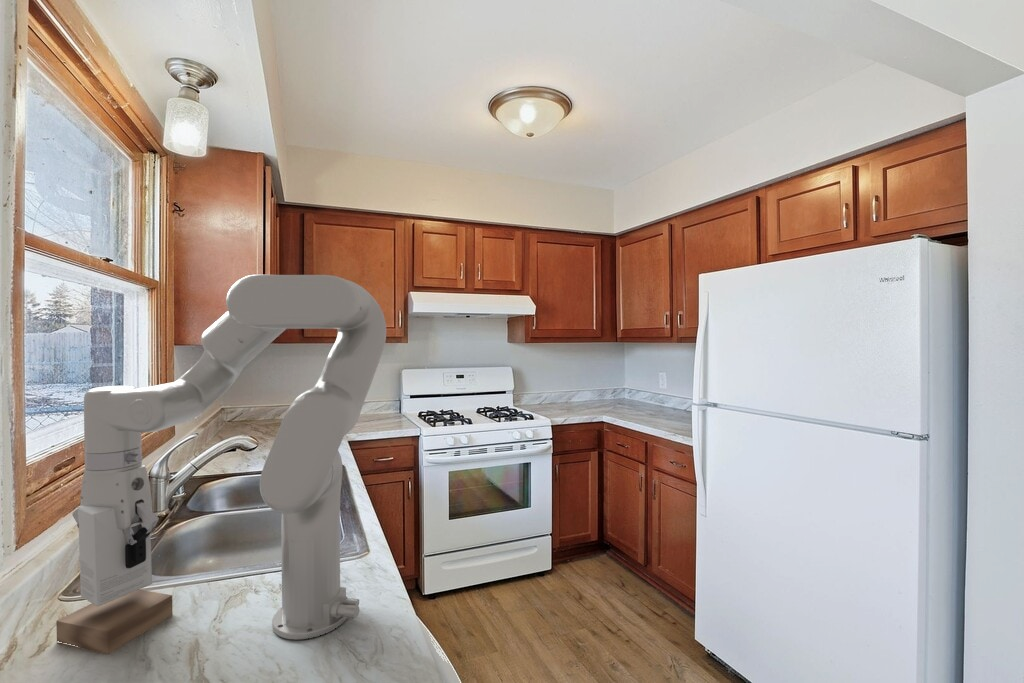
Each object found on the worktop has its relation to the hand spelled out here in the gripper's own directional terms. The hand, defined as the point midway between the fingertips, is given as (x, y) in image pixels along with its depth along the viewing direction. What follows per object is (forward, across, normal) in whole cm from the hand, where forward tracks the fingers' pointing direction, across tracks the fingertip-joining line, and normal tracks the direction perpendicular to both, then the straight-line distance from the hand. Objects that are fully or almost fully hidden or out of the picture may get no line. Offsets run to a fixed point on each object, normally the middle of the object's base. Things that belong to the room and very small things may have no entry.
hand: (115, 561), depth 84 cm
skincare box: (+5, 0, 0) cm, 5 cm away
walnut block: (+12, 0, 0) cm, 12 cm away
